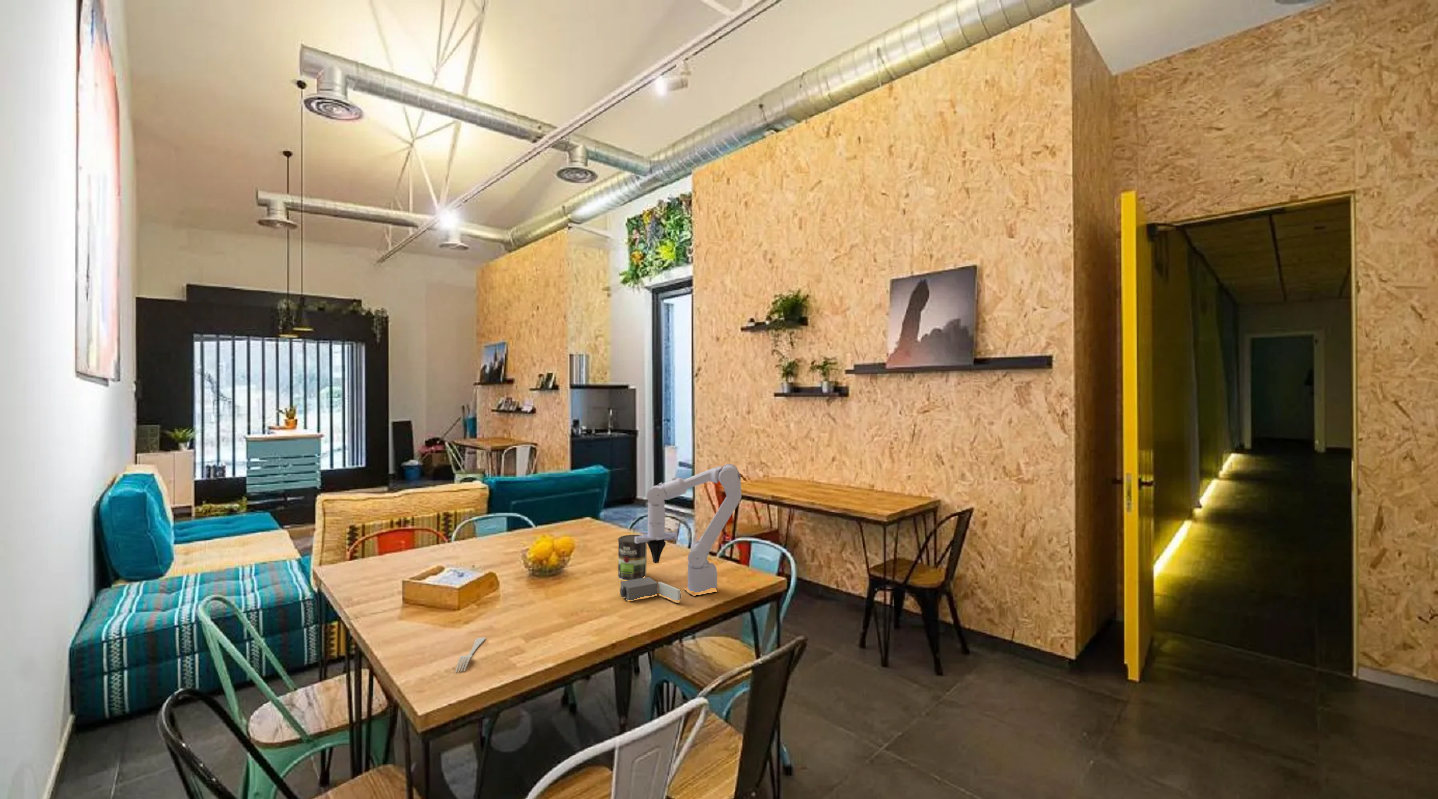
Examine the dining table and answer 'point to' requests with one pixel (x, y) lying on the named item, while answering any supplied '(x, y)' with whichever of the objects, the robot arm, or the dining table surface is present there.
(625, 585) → the camera case
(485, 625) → the dining table surface
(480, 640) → the fork
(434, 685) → the dining table surface
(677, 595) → the side door
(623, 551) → the coffee can
